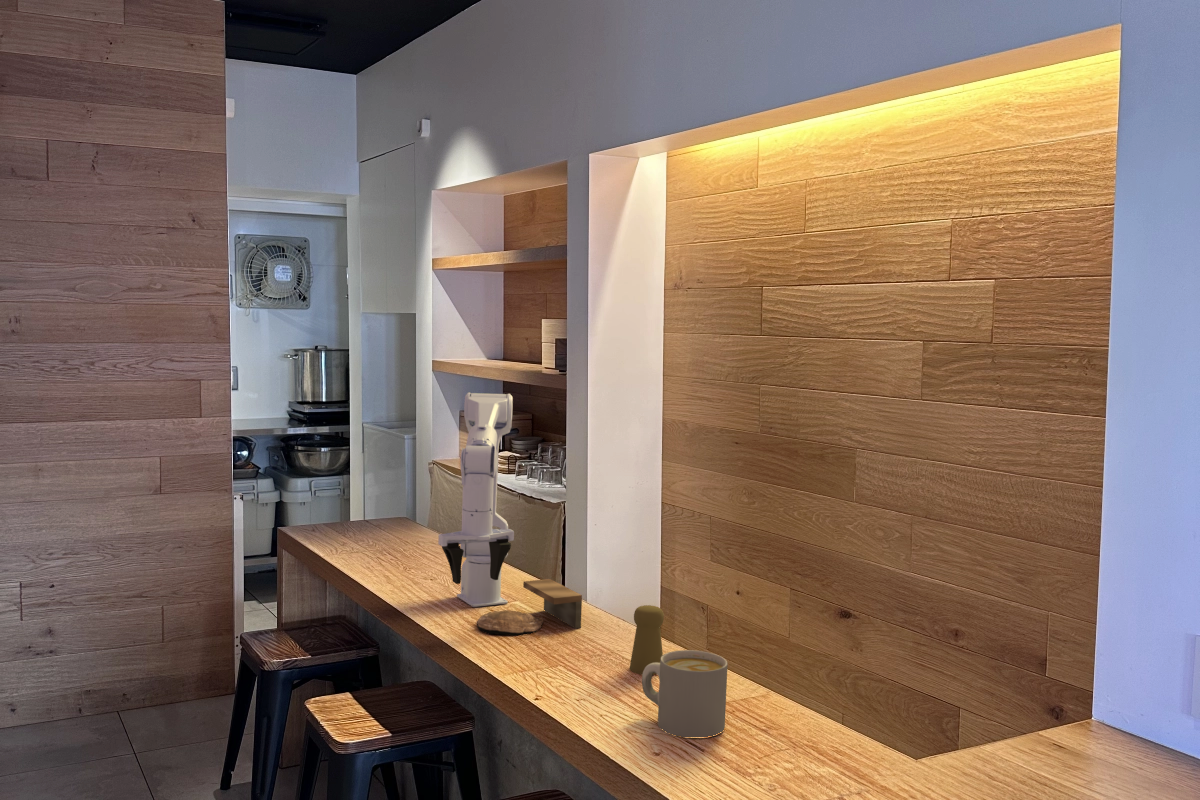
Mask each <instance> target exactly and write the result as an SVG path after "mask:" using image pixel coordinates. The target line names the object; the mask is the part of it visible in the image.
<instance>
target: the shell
mask: <svg viewBox="0 0 1200 800" xmlns="http://www.w3.org/2000/svg"><path fill="white" fill-rule="evenodd" d="M543 623H544V619H543V618H541V617H536V616H533V615H532V614H529V613H525V612H522V611H516V610H509V609H508V610H507V609H506V610H500V611H498V610H494V611H489V612H487V613H485V614H482V615H481V616H480V617H479V618H478V619H477V621H476V626H477V629H478V630H479V631H481V632H483V633H485V632H486V633H485V634H488V633H489V634H488V635H493V634H495V635H496V634H497V635H499V636H505V635H508V636H512V637H519V636H518V635H521V636H524V635H523V634H527V635H532V634H534V633H533V632H535V633H536V631H537V630H538V631H540V630H541V629H542V626H543ZM541 625H542V626H541ZM540 628H541V629H540ZM538 631H537V632H538ZM531 633H532V634H531Z"/></svg>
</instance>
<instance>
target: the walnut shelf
mask: <svg viewBox="0 0 1200 800" xmlns="http://www.w3.org/2000/svg"><path fill="white" fill-rule="evenodd" d="M522 583H523V585H522V586H523V587H522V588H524V589H525V590H528V591H530V592H531V593H533V594H535V595H536V596H539V597H540V598H542V599H543V611H544V610H545V611H544V612H546V613H547V612H548V614H549V613H550V614H549V615H551V614H552V615H551V616H553V615H554V616H555V617H554V616H553V617H554V618H556V617H557V618H556V619H558V618H559V619H560V620H559V619H558V620H559V621H561V620H562V621H561V622H563V621H564V622H563V623H565V622H566V623H567V625H568V624H569V625H568V626H570V627H571V628H574V629H581V628H582V606H583V605H582V604H583V599H582V598H583V594H580V593H579V592H576V591H574V590H573V589H570V588H569V587H566V586H565V585H563V584H561V583H559V582H557V581H554V580H553V579H551V578H546V579H536V580H534V579H533V580H526V581H525V580H524V581H523V582H522ZM566 623H565V624H566Z"/></svg>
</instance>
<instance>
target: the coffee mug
mask: <svg viewBox="0 0 1200 800" xmlns="http://www.w3.org/2000/svg"><path fill="white" fill-rule="evenodd" d="M653 673H657V674H656V675H657V676H658V679H659V687H658V691H656V690H655V688H654V687H653V682H652V681H653V680H652V677H653V675H652V674H653ZM727 683H728V661H727V659H725V658H724V657H723V656H721V655H718V654H716V653H712V652H708V651H704V650H703V651H702V650H695V649H694V650H693V649H685V650H682V649H681V650H674V651H669V652H666V653H663V656H662V657H661V660H660V663H651V664H649V665H647V666H646V667H645V669H644V671H643V675H642V674H641V686H642V691H643V693H644V695H645V697H646V698H648V699H649V701H651V702H652V703H654V704H655V705H656V706H657V707H658V711H657V713H658V714H657V726H659V727H660V728H661V729H663V730H664V731H666V732H667V733H670V734H673V735H676V736H681V737H708V736H713V735H716V734H718V733H720V732H722V731H723V730H724V728H725V729H726V711H727V710H726V707H727V704H726V703H727V686H728V684H727ZM659 727H658V728H659ZM660 728H659V729H660ZM661 729H660V730H661ZM664 731H663V732H664ZM724 731H725V730H724ZM667 733H666V734H667ZM670 734H669V735H670ZM676 736H675V737H676Z"/></svg>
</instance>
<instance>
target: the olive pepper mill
mask: <svg viewBox="0 0 1200 800" xmlns="http://www.w3.org/2000/svg"><path fill="white" fill-rule="evenodd" d="M633 613H634V614H633V621H634V623H635V625H636V628H635V635H634V640H633V645H632V652H631V656H630V663H629V669H628V670H629V671H630V672H632V673H634V674H638V675H641V676H642V675H643V671H644V669H645V667H646V666H647V665H649V664H651V663H660V660H661V657H662V656H663V655H664V653H663V642H662V633H661V632H662V630H661V626H662V625H663V623H664V619H665V614H664V611H663V609H662V608H660V607H659V606H656V605H650V604H649V605H647V604H646V605H640V606H638V607H636V608H635V610H634V612H633ZM654 674H656V675H658V674H657V673H653V674H652V676H654Z"/></svg>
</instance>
